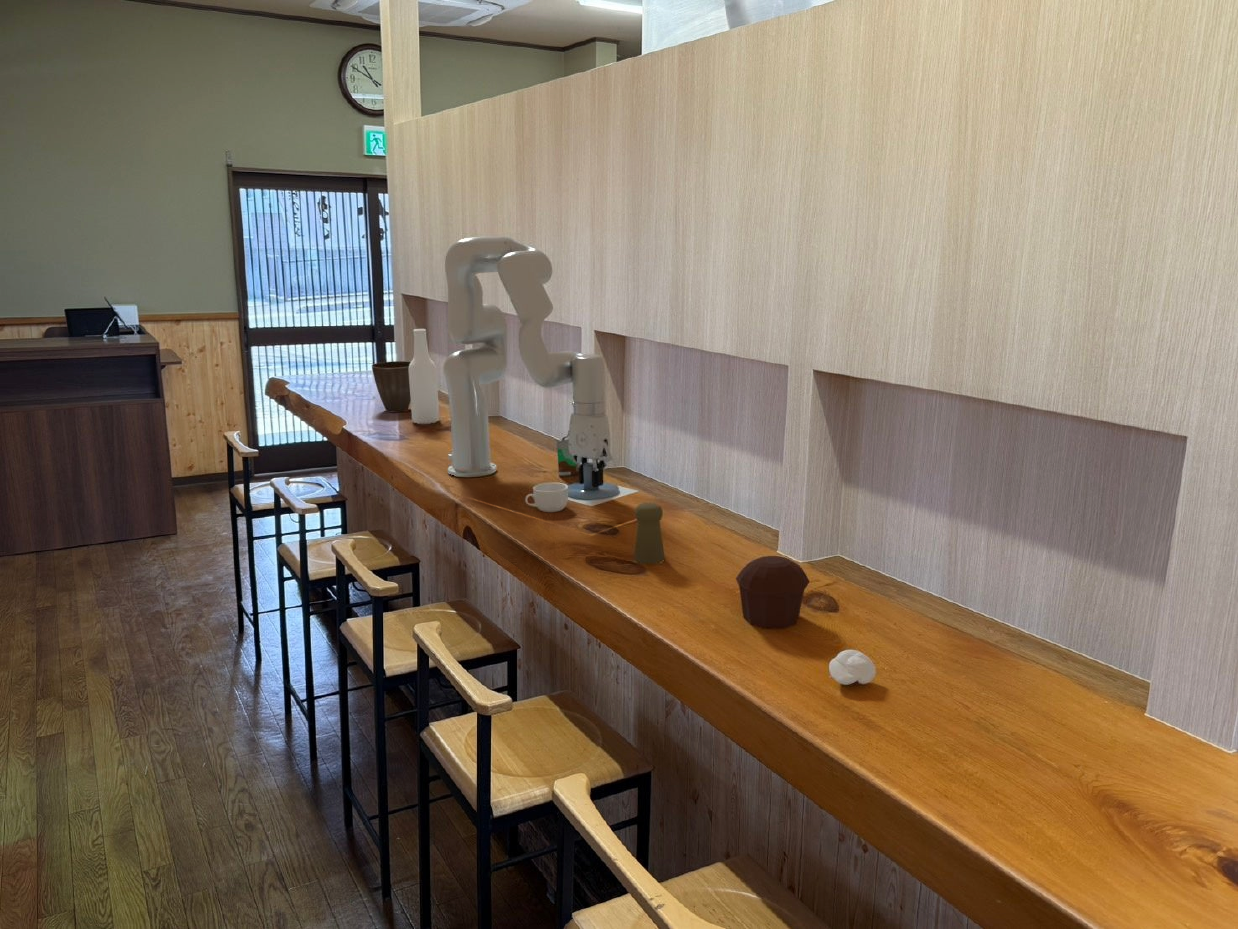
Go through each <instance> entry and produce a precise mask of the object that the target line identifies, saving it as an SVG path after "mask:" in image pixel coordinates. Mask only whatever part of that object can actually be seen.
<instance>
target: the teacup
mask: <svg viewBox="0 0 1238 929" xmlns="http://www.w3.org/2000/svg"><path fill="white" fill-rule="evenodd" d="M532 490H533V493H529V494H527V495H526V496H525V503H526V504H527V505H528V506H530V507H535V508H537V509H538V510H539V511H541V512H543V513H556V512H560V511H562V510H563V509H565V508H566V506H567V504H568V502H569V500H568V484H567V483H562V482H545V483H544V482H543V483H538V484H537V485H534V486H533V487H532ZM529 497H532V499H533V500H534V503H529V502H528V499H529Z"/></svg>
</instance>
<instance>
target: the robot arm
mask: <svg viewBox="0 0 1238 929" xmlns="http://www.w3.org/2000/svg"><path fill="white" fill-rule="evenodd" d="M444 259H445V260H444V270H445V277H446V283H447V306H448V307H447V308H448V309H447V311H448V313H447V314H448V316H447V317H448V319H447V320H448V333H449V336H450V339H451V340H452V342H453V343H455V344H458V345H461V346H469V345H474V344H475V345H476V344H477V347H474V348H467V349H462V350H458V351H455V352H452V353H451V354H450V355H449V356H447V357H446V358H445V360H444V364H443V366H442V367H443V368H442V369H443V376H444V380H445V381H444V382H445V385H446V388H447V393H448V395H447V396H448V401H449V413H450V414H449V415H450V429H451V445H452V448H451V449H452V451H451V454H450V453H449V454H447V456H446V457H447V460H450V461H451V465H450V466H448V467H447V473H448V474H449V475H450V474H451V475H450V476H452V475H454V476H453V477H458V478H477V477H478V478H479V477H486V476H489V475H492V474H494V473H496V472H497V470H498V468H497V464H495V463H493V462H491V449H490V448H491V447H490V444H491V443H490V428H489V427H490V425H489V412H488V411H489V410H488V402H487V399H486V396H485V394H484V392H483V390H482V388H481V386H484V385H488V384H491V383H495V382H496V383H497V382H498V381H500V380H501V379H502V378H503V377H504V376H505V375H506V372H507V368H508V324H507V323H508V322H507V319H506V317H505V315H504V313H503V311H502V310H501V309H500V307H498V306H496V305H495V304H491V303H484V299H483V297H484V290H483V287H482V284H481V280H480V279H479V278H478V276H477V275H478V274H486V273H498V276H499V278H500V282H501V283H502V286H503V287H504V290H505V292H506V295H507V296H508V297H509V300H510V302H511V304H512V306H513V308H514V310H515V313H516V315H517V317H518V319H519V322H520V325H519V330H518V331H519V332H518V349H519V354H520V357H521V359H522V361H523V363H524V366H525V367H526V370H527V372H528V373H529V376H530V377H531V379H532V380H533V382H534V383H536V384H537V385H538V386H539V387H542V388H553V387H558V386H562V385H568V384H571V383H572V402H571V405H572V407H573V408H572V409H573V410H572V411H573V412H571V414H570V420H569V424H568V426H569V427H568V431H569V453H570V454H571V455H572V456H573V457H574V459H575V460H576V462H577V467H579V475H578V483H580V484H584V478H583V464H584V463H589V462H590V460H591V461H592V462H593V469H594V470H593V471H592V487H598V486H601V485H603V482H604V470H606V466H607V465H608V464H609V463H612V462H613V461H614V458H613V455H612V453H611V446H612V445H611V444H612V443H611V432H610V431H611V430H610V424H609V419H608V414H607V413H606V412H607V410H606V408H607V406H606V404H607V401H606V366H605V365H606V364H605V362H606V361H605V359H604V357H603V356H602V355H599V354H592V353H591V354H590V353H589V354H586V353H580V352H578V351H574V350H564V351H559V352H554V353H549V351H548V349H547V347H546V345H545V342H544V340H543V336H542V327H543V325H544V324H543V323H544V321H545V320H546V319H547V318H548V317H549V316H550V315H551V314H552V312H553V310H554V305H553V303H552V301H551V300H550V299H551V298H550V297H549V295H548V293H547V291H546V290H547V289H545V286H544V285H546V284H547V283H548V282H549V281H550V280H551V277H552V275H553V265H552V262H551V260H550V258H549V257H548V256H547V255H546V254H545V253H544V252H543V251H541V250H540V249H537V248H535V247H532V246H531V245H528V244H525V243H523V242H521V241H519V240H517V239H514V238H510V237H508V236H473V237H466V238H463V239H460V240H457V241H456V242H454V243H453V244H452V245H451V246H450V247H449V248H448V250H447V252H446V254H445V258H444ZM583 457H584V458H583Z"/></svg>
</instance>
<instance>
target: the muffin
mask: <svg viewBox="0 0 1238 929" xmlns="http://www.w3.org/2000/svg"><path fill="white" fill-rule="evenodd" d="M735 580H736V582H737V584H738V587H739V593H740V601H741V602H740V603H741V610H742V617H744V618H745V619H744V618H743V619H744V620H746V621H747V622H748V623H749V625H750V624H751V625H750V626H754V625H756V626H755V627H758V626H759V628H761V627H762V629H765V630H769V629H770V630H771V629H773V630H774V629H775V630H776V629H778V630H779V629H780V630H783V629H787V628H788V627H792V626H795V625H797V621H798V620H799V618H800V613H801V609H802V608H801V607H802V603H803V599H804V592H805V590H806V588H807V586H808V585H809V583H810V580H809V578H808V576H807V574H806V572H805V571H804V569H803V568H802V567H801V566H800V564H798V563H797V562H795V561H794V560H792V559H789V558H787V557H785V556H781V555H780V556H779V555H766V556H761V557H757V558H755V559H753V560H751V561H750V562H748V563H747V564H746V565H745V566H744V567H743V568H742V569H741V570H740V572H739V573H738V575H737V576H736V577H735ZM797 619H798V620H797Z"/></svg>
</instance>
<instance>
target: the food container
mask: <svg viewBox="0 0 1238 929" xmlns="http://www.w3.org/2000/svg"><path fill="white" fill-rule="evenodd" d="M556 450H557V465H558V467H557V468H558V477H559V478H568V477H576V476H579V467H577V462H576V460H575V459H574V457H573V456H572V455H571V454H570V453H569V430H568V431H567V435H565V436H563V437H562V439H560V440H556ZM583 458H584V457H583Z"/></svg>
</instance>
